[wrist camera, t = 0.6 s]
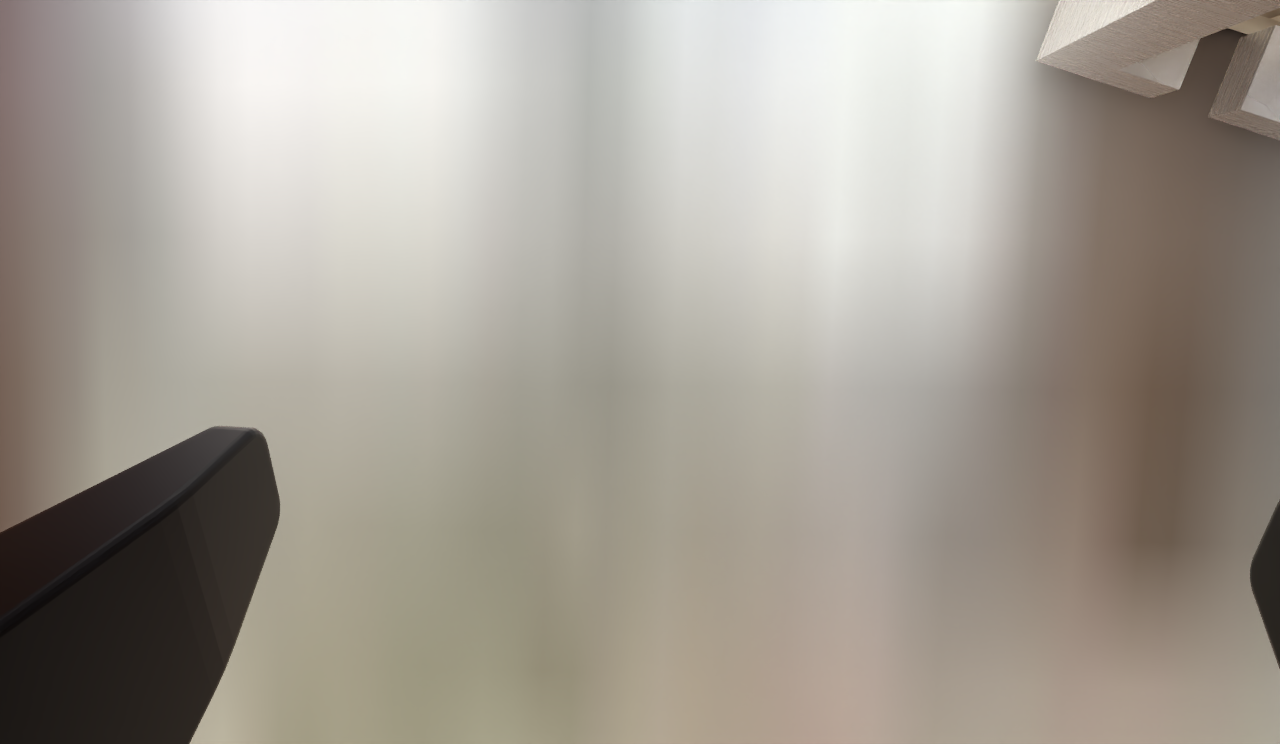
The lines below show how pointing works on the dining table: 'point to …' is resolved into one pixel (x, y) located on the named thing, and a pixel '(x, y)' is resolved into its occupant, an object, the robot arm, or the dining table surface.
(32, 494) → the dining table surface
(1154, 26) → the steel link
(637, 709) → the dining table surface
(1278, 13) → the birch stand
